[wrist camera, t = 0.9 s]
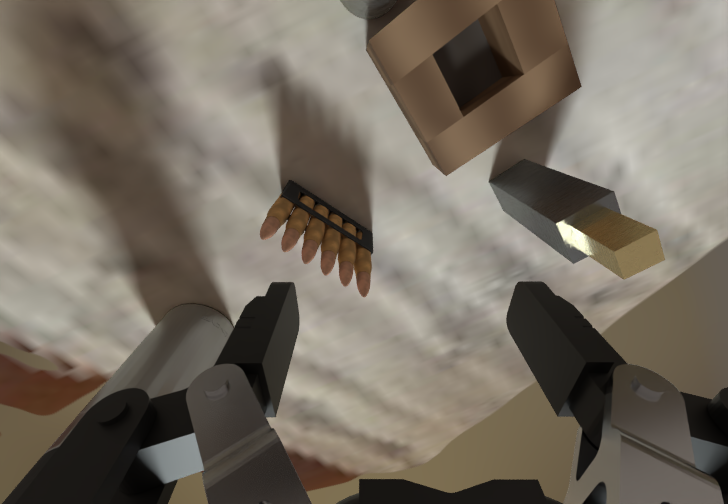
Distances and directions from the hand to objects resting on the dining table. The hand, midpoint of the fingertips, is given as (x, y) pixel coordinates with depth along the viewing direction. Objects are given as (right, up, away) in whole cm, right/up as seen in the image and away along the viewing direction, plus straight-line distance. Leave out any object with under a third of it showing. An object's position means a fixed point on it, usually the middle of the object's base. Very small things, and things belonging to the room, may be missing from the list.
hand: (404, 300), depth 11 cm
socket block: (+7, +18, +16) cm, 25 cm away
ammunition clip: (-5, +6, +22) cm, 24 cm away
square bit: (+14, +9, +21) cm, 27 cm away
